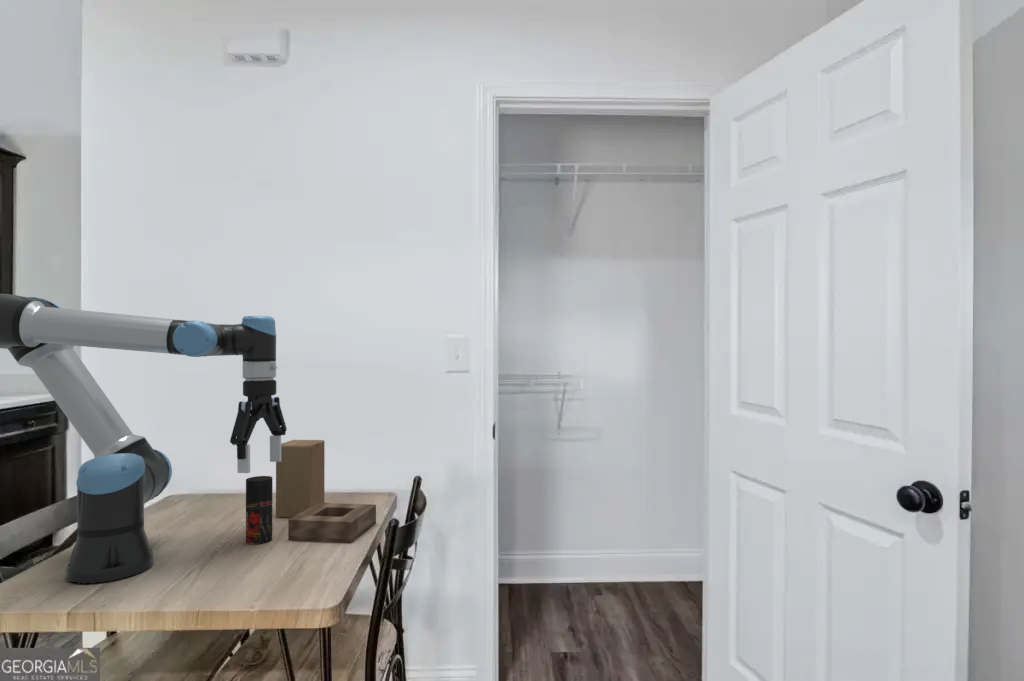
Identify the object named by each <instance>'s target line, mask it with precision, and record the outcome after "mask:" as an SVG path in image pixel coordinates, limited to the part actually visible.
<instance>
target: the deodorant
mask: <svg viewBox="0 0 1024 681" xmlns="http://www.w3.org/2000/svg"><path fill="white" fill-rule="evenodd" d="M271 541H273V476H271V475H256V476H250V477H247V478H246V479H245V544H247V545H253V546H255V545H257V546H258V545H263V544H264V545H265V544H266V543H269V542H271Z"/></svg>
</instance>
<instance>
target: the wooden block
mask: <svg viewBox="0 0 1024 681" xmlns="http://www.w3.org/2000/svg"><path fill="white" fill-rule="evenodd" d="M318 503H325V440H324V439H291V440H289V441H286V442H281V462H275V517H276V518H285V517H289V519H291V518H292V517H294V516H296V515H298V514H300V513H301V512H303V511H305V510H307V509H309V508H311V507H312V506H314V505H316V504H318Z"/></svg>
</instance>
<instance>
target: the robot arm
mask: <svg viewBox="0 0 1024 681" xmlns="http://www.w3.org/2000/svg"><path fill="white" fill-rule="evenodd" d="M75 346H76V347H84V348H85V347H86V348H87V347H88V348H97V349H98V348H100V349H111V350H122V351H134V352H135V351H136V352H147V353H160V354H170V355H180V356H186V357H192V358H193V357H194V358H200V357H214V356H215V357H217V356H219V357H220V356H221V357H223V356H242V378H243V379H244V381H243V382H242V395H243V396H244V397H247V401H245V400H244V401H239V402H238V408H237V409H238V410H237V414H236V417H235V421H234V425H233V429H232V432H231V436H230V439H229V443H230V444H232V446H236V459H237V473H238V474H250V473H251V444H249V440H250V438H251V436H252V433H253V431H254V430H255V427H256V425H257V422H258V421H260V420H261V419H263V420H264V423H265V424H266V426H267V428H268V430H269V432H270V434H271V435H270V436H269V462H270V463H271V462H272V463H276V462H281V444H282V436H286V434H287V433H286V432H287V426H286V421H285V419H284V416H283V411H282V408H281V402H280V397H279V396H275V395H276V394H277V381H276V379H274V378H276V377H277V369H278V366H277V362H276V361H277V332H276V319H275V318H274V317H272V316H269V315H245V316H243V317H242V320H241V323H238V324H218V323H217V324H216V323H209V322H205V321H199V320H184V319H174V318H162V317H154V316H144V315H135V314H134V315H132V314H125V313H124V314H123V313H112V312H101V311H93V310H92V311H91V310H83V309H72V308H62V307H61V306H59V305H58V304H56V303H54V302H52V301H49V300H47V299H44V298H40V297H36V296H35V297H34V296H29V297H27V296H22V295H18V294H17V295H16V294H11V293H10V294H9V293H0V349H4V350H5V349H7V350H8V351H9V353H10V354H11V356H12V357H13V358H14V360H15V361H16V363H17V364H18V365H19V366H23V367H27V368H30V369H32V371H33V372H34V374H35V375H36V376H37V377H38V379H39V381H40V382H41V383H42V385H43V386H44V387H45V389H46V390H47V391H48V393H49V395H50V396H51V397H52V399H54V401H55V403H56V404H57V405H58V407H59V409H60V410H61V411H62V412H63V414H64V415H65V416H66V418H67V420H68V421H69V422H70V423H71V425H72V426H73V428H74V429H75V430H76V432H77V434H78V435H79V437H80V438H81V439H82V440H83V441H84V443H85V445H86V446H87V448H88V449H89V450H90V452H91V453H92V454H93V457H94V458H92V459H91V458H90V459H89V460H87V461H85V462H83V463H82V464H81V465H80V467H79V468H78V472H77V480H76V483H75V484H76V499H77V500H76V501H77V503H76V504H77V505H76V506H77V507H76V508H77V509H76V510H77V511H76V512H77V516H76V518H77V519H76V520H77V522H76V527H77V532H76V536H77V537H76V540H75V543H74V546H73V549H72V552H71V556H70V559H69V561H68V563H67V565H66V568H65V569H66V572H65V573H66V575H65V576H66V578H65V579H66V581H68V580H69V581H71V582H70V583H72V582H78V583H77V584H80V583H90V584H97V583H96V582H101V583H106V581H108V582H112V581H113V580H114V581H118V580H122V579H126V578H129V576H130V577H133V576H136V575H138V574H141V573H143V572H145V571H147V570H148V569H150V568H151V567H152V566H153V565H154V551H153V548H151V544H150V542H149V539H148V536H147V533H146V531H145V504H146V503H148V502H149V501H151V500H153V499H155V498H157V497H158V496H160V495H161V494H162V493H163V492H164V490H165V489H166V488H167V487H168V486H169V483H170V481H171V479H172V476H173V475H172V474H173V468H172V467H173V466H172V463H171V462H170V459H169V458H168V457H167V455H166V454H165V453H164V452H162V451H160V450H157V449H155V448H153V447H152V446H151V444H150V443H149V441H148V440H147V439H146V437H145V436H142V435H137V434H134V433H133V432H132V430H131V429H130V427H129V426H128V425H127V423H126V422H125V420H124V419H123V418H122V416H121V415H120V413H119V412H118V410H117V409H116V407H115V406H114V405H113V404H112V402H111V400H110V399H109V398H108V397H107V395H106V393H105V392H104V390H103V389H102V387H100V385H99V384H98V382H97V381H96V379H95V378H94V376H93V375H92V374H91V372H90V371H89V370H88V368H87V366H86V365H85V364H84V363H83V361H82V359H81V358H80V357H79V355H78V354H77V352H76V351H75V349H74V347H75ZM140 572H141V573H140ZM135 574H136V575H135ZM132 575H133V576H132ZM125 577H126V578H125ZM117 579H118V580H117ZM69 581H68V582H69Z"/></svg>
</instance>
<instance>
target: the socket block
mask: <svg viewBox="0 0 1024 681" xmlns="http://www.w3.org/2000/svg"><path fill="white" fill-rule="evenodd" d="M287 521H288V524H287V526H288V527H287V528H288V529H287V530H288V533H287V534H288V535H287V536H288V539H287V540H288V541H289V540H292V542H293V541H296V542H312V541H325V542H324V543H335V542H340V543H339V544H352V543H353V542H354V541H356V540H357V539H359V537H361V536H362V535H363V534H364V533H366V532H367V531H369V530H370V529H371V528H372V527H373V526H375V525H376V524H377V504H368V503H366V504H365V503H364V504H363V503H341V502H338V503H336V502H324V503H318V504H316V505H314V506H312V507H311V508H309V509H307V510H305V511H303V512H301V513H300V514H298V515H296V516H294V517H292V518H289V519H288V520H287Z"/></svg>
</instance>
